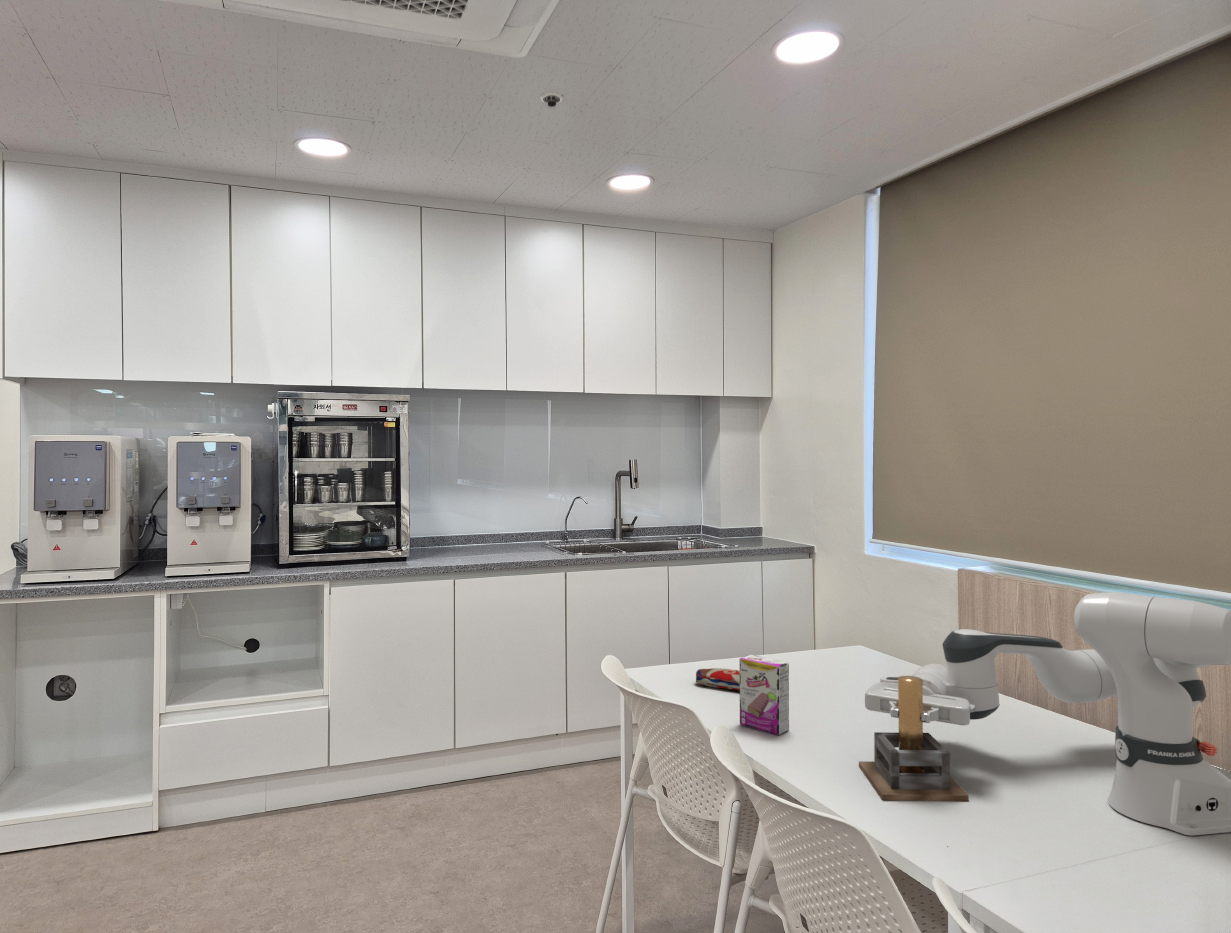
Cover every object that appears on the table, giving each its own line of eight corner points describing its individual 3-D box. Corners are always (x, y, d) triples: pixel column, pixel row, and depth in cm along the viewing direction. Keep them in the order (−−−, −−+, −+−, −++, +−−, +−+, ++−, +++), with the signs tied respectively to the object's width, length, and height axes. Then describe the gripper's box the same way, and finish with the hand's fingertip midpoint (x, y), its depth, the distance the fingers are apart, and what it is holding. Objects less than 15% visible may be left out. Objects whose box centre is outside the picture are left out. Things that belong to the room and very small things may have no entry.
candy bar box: (738, 725, 186) (738, 657, 186) (750, 720, 190) (749, 653, 190) (779, 736, 179) (778, 666, 178) (790, 730, 182) (789, 661, 182)
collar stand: (936, 766, 160) (936, 728, 160) (968, 800, 144) (968, 758, 144) (858, 766, 161) (858, 728, 161) (882, 800, 145) (882, 757, 145)
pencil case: (745, 700, 206) (745, 681, 206) (689, 685, 220) (689, 668, 220) (769, 691, 214) (769, 673, 214) (713, 677, 228) (713, 660, 228)
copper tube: (918, 764, 155) (917, 675, 155) (926, 774, 150) (925, 682, 150) (895, 764, 155) (895, 675, 155) (903, 773, 151) (902, 682, 150)
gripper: (976, 720, 158) (966, 741, 146) (874, 704, 169) (857, 723, 157) (976, 690, 158) (966, 708, 146) (874, 675, 169) (857, 692, 157)
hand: (909, 716), depth 152 cm, fingers closed on copper tube, 4 cm apart
